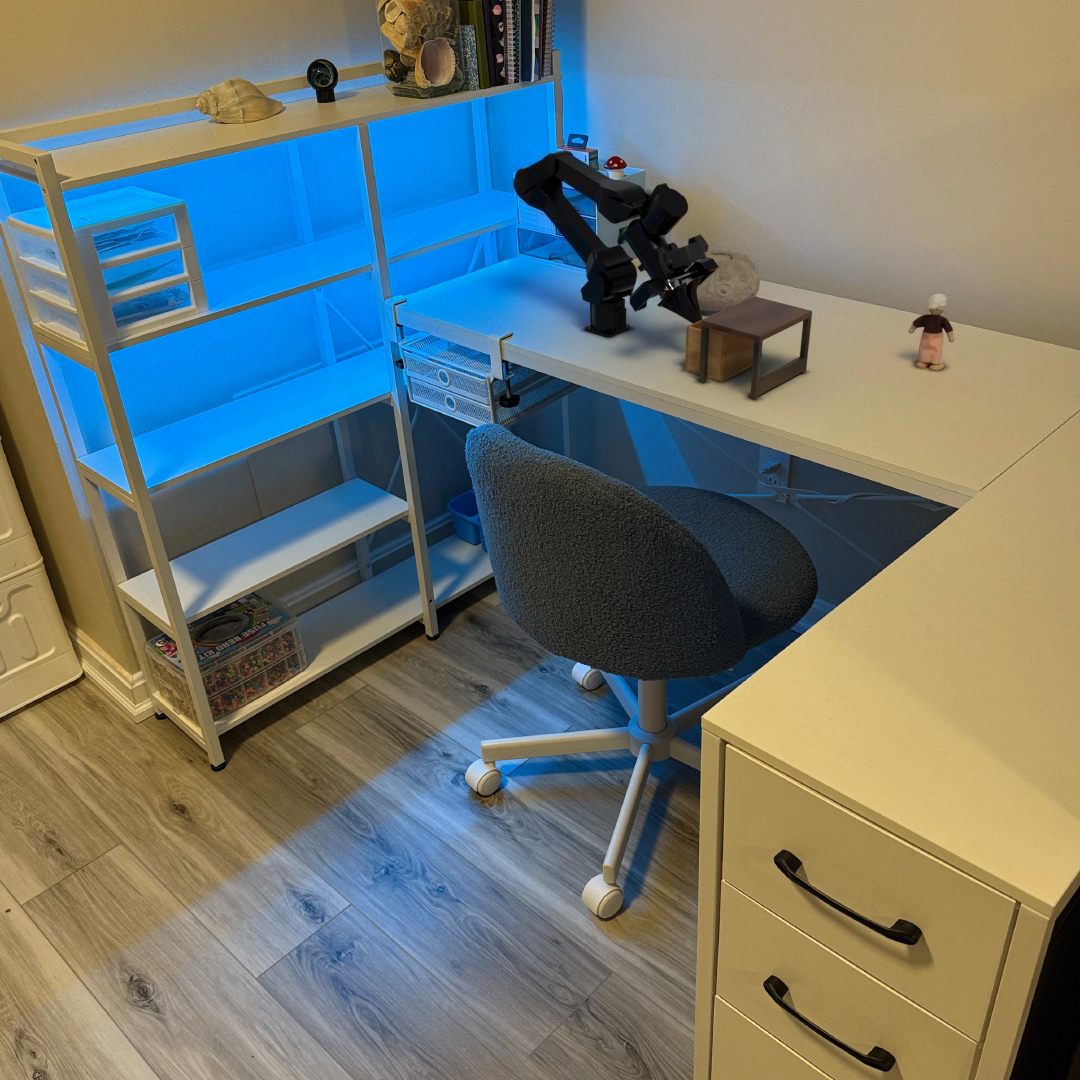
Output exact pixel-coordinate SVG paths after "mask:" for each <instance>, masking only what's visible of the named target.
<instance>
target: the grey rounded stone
mask: <svg viewBox="0 0 1080 1080" xmlns="http://www.w3.org/2000/svg"><path fill="white" fill-rule="evenodd" d="M705 255H706V257H709V258H713V259H714V260H715V262H716V264H717V265H718V267H719V268H718V269H717V270H716V271H715V272H714V273H713V274H712V275H711V276H710V277H708V278H707V279H706V280H705V281H704V282H703V283H702V284H701V285H699V286H697V298H698V303H699V307H700V311H703V312H704V311H705V312H709V313H710V312H716V313H718V312H720V311H724V310H726V309H728V308H730V307H732V306H735V305H737V304H739V303H741V302H744V301H746V300H748V299H750V298H753V297H755V296H756V297H757V294H758V292H759V290H760V285H761V274H760V273H759V270H758V268H757V266H756V264H755V262H754V261H752V260H751V259H750V258H749V257H748V254H742V253H739V252H734V251H731V250H729V249H727V250H723V249H711V250H708V251H707V252H705ZM699 260H701V259H699ZM699 260H697V261H699ZM693 264H694V263H692V265H693ZM692 265H691V266H692ZM691 266H690V267H691ZM690 267H689V268H690ZM689 268H688V269H689ZM688 269H686V270H685V272H686V271H687V270H688Z"/></svg>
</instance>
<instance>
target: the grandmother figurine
mask: <svg viewBox="0 0 1080 1080" xmlns="http://www.w3.org/2000/svg"><path fill="white" fill-rule="evenodd" d="M947 304H948V298H947V296H946V295H945V294H942V293H935V294H933V295H931V296H930V297H929V299H928V300H926V303H925V305H924V307H926V309H927V310H928V312H929V313H927V314H923V315H920V316H919V317H917V318H916V319H914V320H912V324H911V325H910V327H909V328H908V330H907V331H908V333H909V334H914V333H915V332H916V330H917V329H920V328H923V330H922V331H921V335H920V340H919V345H918V355H917V362H916V368H921V369H922V368H923V369H925V368H927V367H928V366H929V369H930V370H932V371H939V370H942V369H944V368H945V365H944V362H942V357H943V346H944V332H945V334H946V336H947V340H948V342H949V343H954V342H955V340H956V339H955V336H954V328H953V326H952V324H951V322H950V321H949V319H948V318H947V317H945V316H943V315H942V314H943V313H944V312H945V310H946V307H947ZM930 363H931V364H930Z"/></svg>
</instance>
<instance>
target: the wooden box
mask: <svg viewBox="0 0 1080 1080" xmlns="http://www.w3.org/2000/svg"><path fill="white" fill-rule="evenodd" d="M719 312H721V311H717V312H716V313H714V314H710V315H709V316H707V317H704V318H702V320H703V319H706V318H708V317H710V316H712V315H715V314H717V313H719ZM702 320H700V321H698V322H695V323H691V324H689V325H687V326H686V327H685V328H686V329H685V330H686V331H685V332H686V333H685V358H684V370H685V371H686V372H689V373H693V374H697V375H699V371H700V349H701V327H702ZM753 353H754V341H753V340H750V339H746V338H742V337H739V336H735V335H732V334H728V333H725V332H721V331H718V330H714V329H711V328H710V329H709V349H708V369H707V379H708V378H709V379H711V380H714V381H715V380H716V381H718V382H721V383H723V382H724V381H727V380H728V379H730V378H733V377H734V376H737V375H739V374H740V373H741V372H744V371H746V370H748V369H750V368H752V366H753Z"/></svg>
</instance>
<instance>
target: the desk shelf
mask: <svg viewBox="0 0 1080 1080" xmlns="http://www.w3.org/2000/svg"><path fill="white" fill-rule="evenodd" d="M718 312H719V313H718ZM718 312H716V313H717V314H716V313H714V314H715V315H713V314H711V315H712V316H711V315H709V316H710V317H709V316H707V317H708V318H707V317H705V318H706V319H704V318H702V319H703V320H702V327H701V349H700V371H699V374H698V383H702V384H705V383H707V382H708V377H707V369H708V349H709V329H710V328H711V329H714V330H718V331H721V332H725V333H728V334H732V335H735V336H739V337H742V338H746V339H750V340H753V341H754V353H753V366H752V367H751V380H750V393H749V395H750V396H749V399H750V400H753V401H756V400H758V399H759V396H760V395H762V394H764V393H766V392H767V391H769V390H771V389H773V388H775V387H777V386H778V385H781V384H783V383H784V382H786V381H788V380H789V379H792V378H793V377H796V376H797V375H799V374H801V375H804V374H805V373H807V366H808V356H809V346H810V339H811V338H810V337H811V328H812V318H813V310H811V309H806V308H803V307H799V306H795V305H791V304H787V303H782V302H780V301H775V300H771V299H767V298H763V297H760V296H757V295H756V296H755V297H753V298H750V299H748V300H746V301H744V302H741V303H739V304H737V305H735V306H732V307H730V308H728V309H726V310H724V311H721V312H720V311H718ZM799 323H802V329H801V339H800V348H799V349H800V350H799V356H797V357H796V358H794V359H792V360H790V361H788V362H786V363H784V364H782V365H781V366H778V367H777V368H775V369H773V370H771V371H769V372H767V373H766V374H763V375H762V376H761V369H762V356H763V345H764V341H765V340H768V339H769V338H771V337H773V336H775V335H777V334H779V333H781V332H784V331H785V330H787V329H789V328H791V327H794V326H796V325H797V324H799Z"/></svg>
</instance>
